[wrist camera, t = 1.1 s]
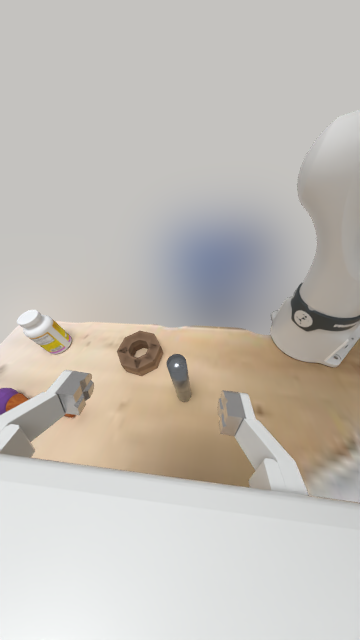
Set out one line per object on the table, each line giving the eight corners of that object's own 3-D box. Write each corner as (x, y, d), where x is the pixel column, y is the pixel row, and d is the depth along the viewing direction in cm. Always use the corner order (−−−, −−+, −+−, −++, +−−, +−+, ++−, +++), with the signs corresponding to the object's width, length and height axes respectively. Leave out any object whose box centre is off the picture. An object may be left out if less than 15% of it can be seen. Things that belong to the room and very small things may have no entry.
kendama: (60, 425, 34) (-34, 416, 36) (77, 424, 40) (-6, 416, 41) (71, 392, 37) (-16, 385, 38) (85, 395, 42) (8, 388, 44)
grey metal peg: (187, 385, 41) (180, 351, 28) (193, 397, 39) (189, 366, 26) (175, 392, 40) (163, 359, 28) (181, 404, 38) (171, 375, 26)
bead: (153, 334, 51) (150, 326, 48) (167, 362, 45) (165, 354, 42) (119, 350, 48) (114, 342, 45) (130, 381, 42) (124, 375, 39)
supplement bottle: (60, 333, 54) (29, 304, 45) (77, 338, 53) (48, 308, 43) (44, 351, 51) (5, 324, 41) (61, 357, 49) (25, 330, 39)
